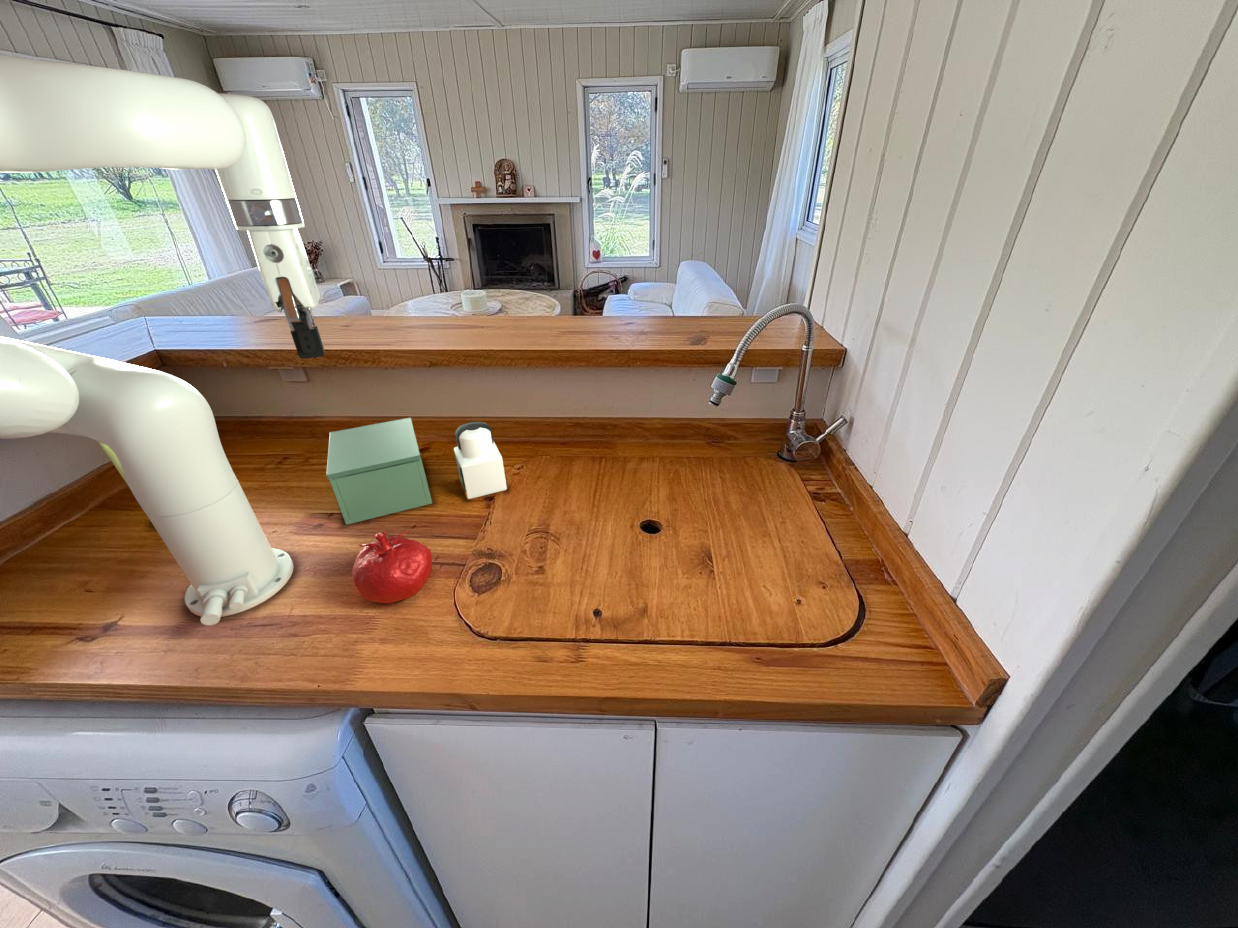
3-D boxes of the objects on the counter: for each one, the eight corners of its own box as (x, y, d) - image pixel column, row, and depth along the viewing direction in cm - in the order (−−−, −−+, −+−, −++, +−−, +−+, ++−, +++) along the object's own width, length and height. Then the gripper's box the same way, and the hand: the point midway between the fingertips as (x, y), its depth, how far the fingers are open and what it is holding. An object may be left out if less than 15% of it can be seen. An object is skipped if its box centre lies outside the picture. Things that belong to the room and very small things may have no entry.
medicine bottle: (460, 480, 92) (447, 422, 86) (498, 471, 95) (489, 414, 88) (467, 500, 87) (454, 440, 80) (507, 490, 89) (498, 431, 83)
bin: (432, 503, 86) (421, 460, 81) (346, 525, 81) (329, 480, 76) (421, 461, 98) (411, 421, 93) (345, 477, 93) (331, 436, 88)
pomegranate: (424, 612, 65) (408, 560, 60) (348, 614, 65) (325, 561, 60) (445, 560, 74) (432, 510, 69) (378, 561, 74) (360, 511, 69)
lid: (421, 459, 80) (420, 455, 80) (327, 479, 76) (326, 475, 75) (411, 421, 93) (410, 417, 93) (331, 436, 88) (329, 432, 88)
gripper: (295, 219, 58) (339, 368, 68) (306, 211, 70) (342, 339, 79) (219, 221, 56) (276, 376, 65) (243, 212, 67) (288, 345, 77)
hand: (312, 355), depth 72 cm, fingers closed
